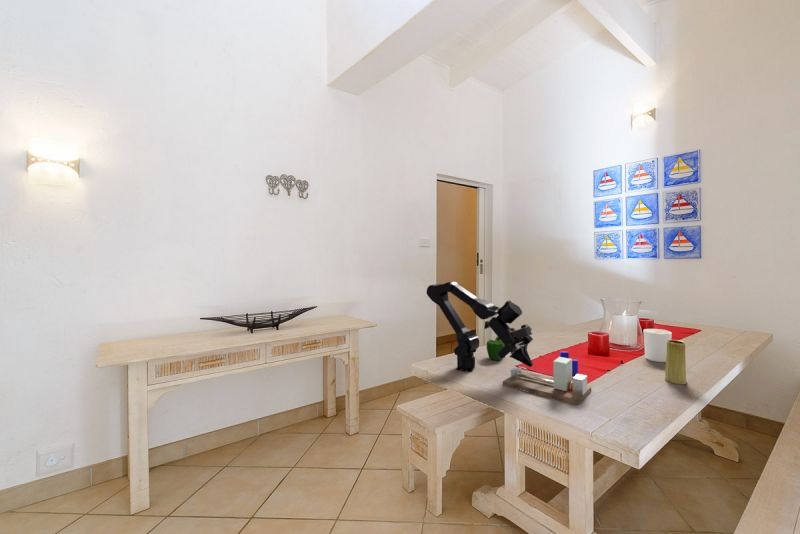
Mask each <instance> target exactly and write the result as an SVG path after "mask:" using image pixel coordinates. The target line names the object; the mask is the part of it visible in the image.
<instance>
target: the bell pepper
mask: <svg viewBox="0 0 800 534" xmlns="http://www.w3.org/2000/svg"><path fill="white" fill-rule="evenodd" d="M497 338H498V336H497V335H496V337H495V339H494V340H493V339H489V340H488V341H487V342H486V351H487V356H488V357H489V359H492V360H495V361H502V359H500V358H499V356H498V351H499V350H500V349H501V348H503V347H504V346H505V345H504V344H503V343H502V341H501V340H500V341H498V340H497Z"/></svg>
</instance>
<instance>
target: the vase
mask: <svg viewBox="0 0 800 534" xmlns="http://www.w3.org/2000/svg"><path fill="white" fill-rule="evenodd" d="M686 362H687V361H686V342H685V341H682V340H679V339H678V340H677V339H671V340H667V353H666V362H665V371H664V372H665V373H664V374H665V375H664V380H665V381H666V382H668V383H670V384H675V385H685V384H687V370H686V369H687V367H686V365H687V364H686Z"/></svg>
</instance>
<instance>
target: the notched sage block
mask: <svg viewBox="0 0 800 534" xmlns="http://www.w3.org/2000/svg"><path fill="white" fill-rule="evenodd" d="M572 360H573V359H572V358H570V357H569V358H564V357H560V356H558V357H557V358H555V359H554V360H553V362H552V363H553V378H554V388H555V389H559V390H563V391H567V390H568V384H569V382H570V381H572V378H573V376H572Z"/></svg>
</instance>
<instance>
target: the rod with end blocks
mask: <svg viewBox="0 0 800 534" xmlns="http://www.w3.org/2000/svg"><path fill="white" fill-rule="evenodd" d="M521 371H522V368H521V367H517V366H514V367H512V368H510V376H511V378H515V379H518V378H519V377H523V378H528V379H532V380H536V381H540V382H545V383H549V384H553V385H554V381H552V380H547V379H543V378H539V377H534V376H530V375H525V374H521ZM587 386H588V375H586V374H582V373H578V374H576V375H575V376H572V381H570V382H569V384H568V390H569V391H573V393H574V394H578V395H582V396H583V395H584V394H585V392H586V391H587Z"/></svg>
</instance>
